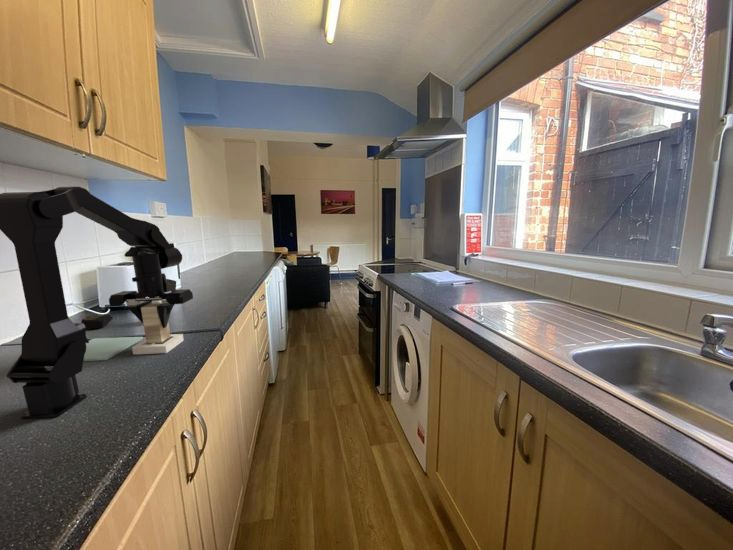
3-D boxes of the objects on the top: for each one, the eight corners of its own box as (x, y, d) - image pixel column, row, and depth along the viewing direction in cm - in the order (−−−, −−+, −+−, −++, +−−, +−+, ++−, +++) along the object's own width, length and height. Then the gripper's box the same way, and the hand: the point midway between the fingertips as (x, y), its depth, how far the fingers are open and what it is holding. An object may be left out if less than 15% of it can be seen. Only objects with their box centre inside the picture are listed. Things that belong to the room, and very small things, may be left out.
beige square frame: (166, 353, 80) (165, 346, 79) (133, 354, 79) (131, 347, 79) (183, 340, 88) (182, 333, 88) (153, 341, 88) (152, 335, 87)
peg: (161, 342, 82) (156, 307, 80) (146, 343, 81) (140, 307, 80) (170, 336, 85) (165, 302, 84) (155, 337, 85) (150, 303, 83)
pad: (106, 360, 76) (105, 357, 76) (48, 362, 76) (47, 360, 76) (143, 338, 90) (142, 336, 90) (94, 340, 89) (93, 338, 89)
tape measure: (103, 329, 99) (101, 318, 98) (77, 332, 97) (75, 321, 96) (113, 323, 105) (111, 312, 104) (89, 325, 103) (87, 314, 102)
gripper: (199, 266, 88) (205, 317, 91) (133, 267, 87) (141, 319, 90) (178, 272, 77) (185, 330, 80) (102, 275, 76) (112, 333, 79)
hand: (156, 327), depth 83 cm, fingers closed on peg, 4 cm apart
